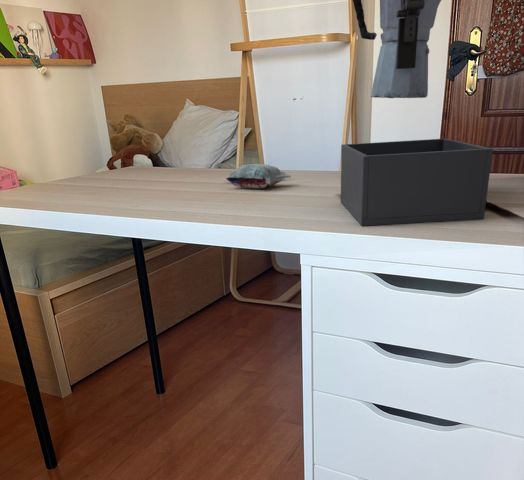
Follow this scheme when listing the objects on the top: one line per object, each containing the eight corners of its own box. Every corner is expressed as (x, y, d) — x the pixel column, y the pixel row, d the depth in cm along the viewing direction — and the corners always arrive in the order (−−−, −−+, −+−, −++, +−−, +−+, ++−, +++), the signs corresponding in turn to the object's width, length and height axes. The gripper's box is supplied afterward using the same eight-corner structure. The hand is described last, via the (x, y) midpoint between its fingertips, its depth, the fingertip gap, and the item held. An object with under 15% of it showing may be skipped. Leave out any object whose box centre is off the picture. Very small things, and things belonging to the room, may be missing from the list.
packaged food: (249, 182, 124) (248, 160, 122) (291, 185, 118) (290, 162, 115) (225, 189, 118) (223, 166, 116) (268, 192, 112) (266, 168, 109)
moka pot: (450, 96, 80) (464, -67, 71) (347, 102, 83) (349, -54, 74) (443, 96, 88) (455, -51, 80) (350, 101, 91) (352, -40, 83)
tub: (440, 196, 97) (446, 138, 93) (483, 218, 80) (493, 148, 75) (340, 202, 97) (341, 144, 93) (361, 226, 80) (363, 156, 75)
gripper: (366, -89, 83) (362, 73, 93) (400, -142, 64) (390, 68, 74) (414, -92, 83) (404, 70, 93) (461, -146, 64) (443, 64, 74)
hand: (398, 69), depth 84 cm, fingers closed on moka pot, 8 cm apart
